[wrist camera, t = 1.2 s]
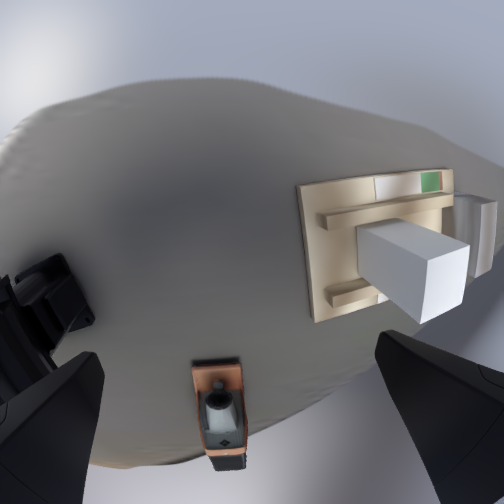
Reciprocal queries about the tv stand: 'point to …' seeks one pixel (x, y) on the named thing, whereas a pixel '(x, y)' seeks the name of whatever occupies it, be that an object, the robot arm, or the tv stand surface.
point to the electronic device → (222, 414)
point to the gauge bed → (378, 209)
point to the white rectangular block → (413, 266)
